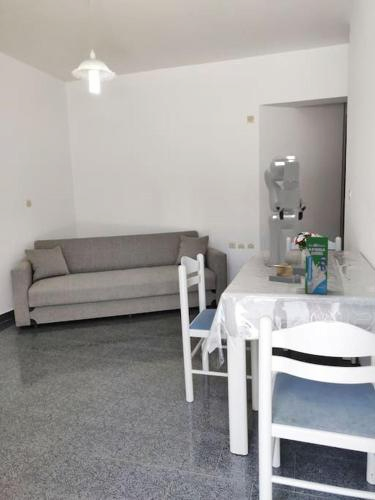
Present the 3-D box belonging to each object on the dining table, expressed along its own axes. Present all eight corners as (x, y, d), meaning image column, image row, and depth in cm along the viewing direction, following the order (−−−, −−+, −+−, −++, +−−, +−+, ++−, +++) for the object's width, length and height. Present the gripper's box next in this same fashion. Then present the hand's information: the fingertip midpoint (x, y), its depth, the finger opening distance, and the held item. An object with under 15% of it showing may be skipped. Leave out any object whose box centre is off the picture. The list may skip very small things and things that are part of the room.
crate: (276, 280, 190) (276, 266, 189) (281, 278, 195) (281, 264, 194) (288, 281, 186) (288, 267, 185) (292, 279, 191) (293, 265, 190)
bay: (268, 282, 190) (268, 272, 189) (284, 275, 206) (284, 266, 205) (298, 286, 181) (298, 275, 181) (312, 278, 197) (312, 268, 196)
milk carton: (326, 289, 174) (328, 234, 171) (326, 294, 166) (328, 236, 162) (305, 288, 177) (306, 234, 174) (304, 293, 169) (305, 236, 165)
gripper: (272, 186, 195) (271, 219, 197) (305, 184, 184) (304, 220, 187) (278, 186, 201) (277, 219, 203) (310, 185, 190) (310, 219, 193)
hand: (290, 219), depth 195 cm, fingers open, 9 cm apart
